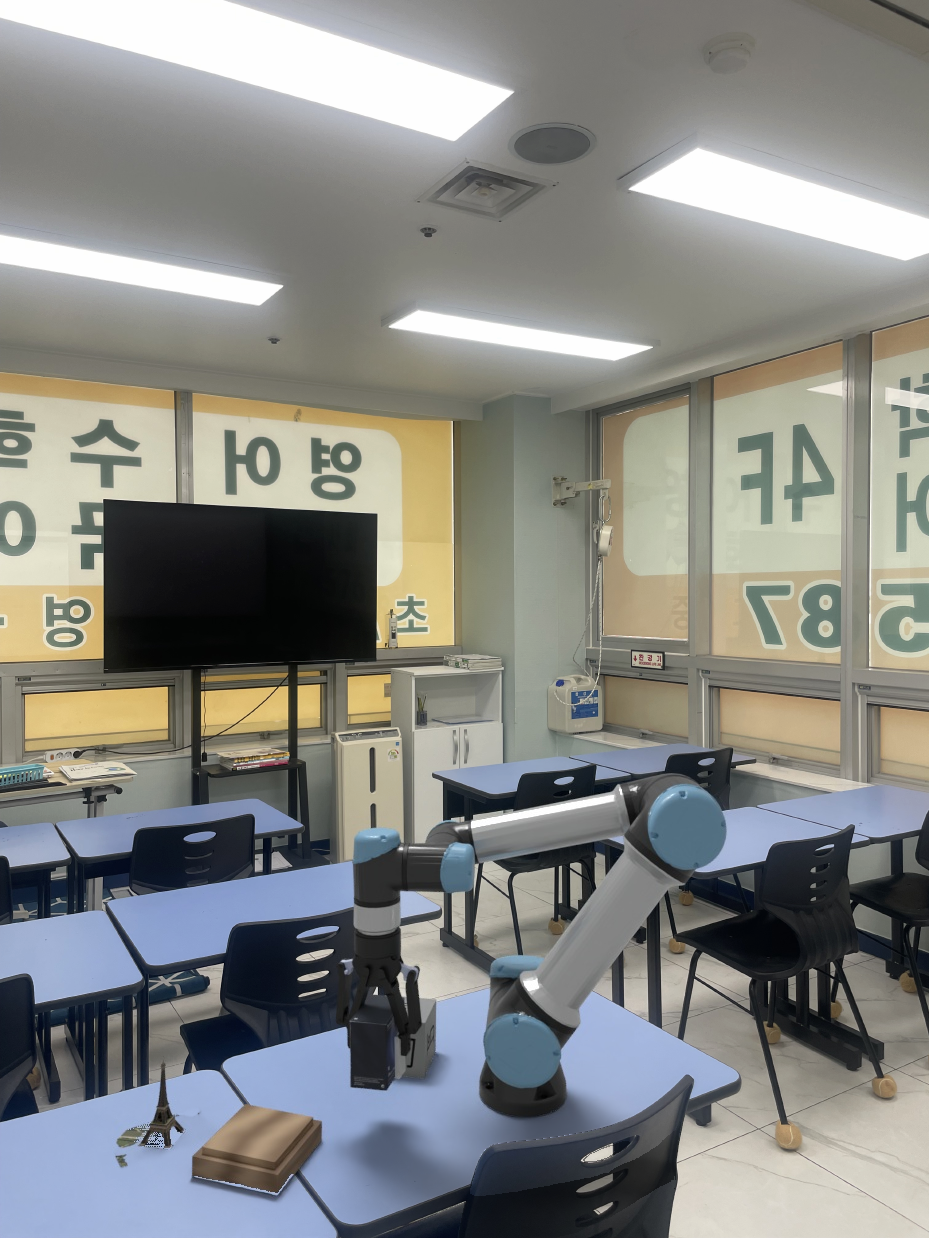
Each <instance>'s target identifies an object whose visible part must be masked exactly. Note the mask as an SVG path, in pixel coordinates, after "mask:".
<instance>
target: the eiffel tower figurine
mask: <svg viewBox="0 0 929 1238" xmlns="http://www.w3.org/2000/svg"><path fill="white" fill-rule="evenodd" d="M164 1060H165V1059H164V1056H162V1062H161V1063H160V1069H161V1071H160V1084H159V1092H158V1093H159V1094H158V1100H157V1105H156V1106H155V1108H156V1111H155V1113H154V1117H153V1119H152V1121H150V1122H151V1123H150V1124H149V1126H150V1128H145V1126H146V1124H145V1123H142V1124H143V1126H144V1124H145V1126H144V1128H143V1126H142V1124H140V1125H141V1126H142V1128H137V1126H138V1127H139V1125H136V1126H134V1127H131V1130H130V1128H128V1129H129V1130H128V1129H126V1130H124V1132H122V1133H121V1135H120V1136H119V1137H118V1138H117V1139H116V1145H117V1146H118V1147H119V1148H122V1149H124V1148H129V1147H131V1146H133V1145H135V1143H136V1144H137V1143H138V1142H136V1141H137V1140H138V1141H139V1139H138V1137H144V1138H143V1140H142V1141H139V1142H140V1143H139V1144H138V1145H137V1147H142V1146H144V1147H143V1148H150V1147H151V1146H150V1147H149V1146H148V1147H147V1146H146V1147H145V1145H159V1144H160V1143H159V1144H158V1143H157V1144H156V1143H155V1144H154V1143H150V1144H149V1143H148V1141H150V1140H148V1139H149V1137H152V1135H153V1133H154V1132H155V1133H156V1132H157V1133H158V1134H159V1133H161V1134H162V1137H163V1138H164V1144H165V1146H164V1148H170V1147H171V1145H172V1144H171V1139H170V1130H171V1128H173V1127H174V1128H175V1129H176V1130H177V1132H180V1133H183V1131H184V1129H185V1128H184V1127H183V1126H182V1125H181V1124H180V1123H179V1122H178V1121H177V1120H176V1116H175V1114H173V1112H172V1111H171V1108H170V1102H169V1101H168V1100H169V1099H168V1093H167V1083H166V1082H167V1079H166V1062H165V1061H164ZM141 1126H140V1127H141ZM147 1126H148V1124H147ZM147 1126H146V1127H147ZM149 1126H148V1127H149ZM133 1128H134V1129H133ZM140 1129H141V1130H140ZM142 1129H149V1130H142ZM145 1131H146V1132H145ZM142 1133H146V1135H145V1134H142ZM155 1133H154V1134H155ZM157 1133H156V1134H157ZM151 1134H152V1135H151ZM156 1134H155V1135H153V1137H154V1136H155V1137H156V1136H157V1137H161V1136H158V1134H157V1135H156ZM183 1134H184V1133H183ZM143 1135H145V1136H143ZM150 1135H151V1136H150ZM159 1135H160V1134H159ZM136 1137H137V1139H136ZM157 1137H156V1138H157ZM156 1138H155V1141H156V1140H157V1139H158V1138H157V1139H156ZM140 1139H141V1138H140ZM150 1139H151V1138H150ZM134 1141H135V1142H134ZM151 1141H152V1140H151ZM151 1141H150V1142H151ZM153 1141H154V1140H153ZM153 1141H152V1142H153ZM155 1141H154V1142H155ZM158 1141H159V1140H158ZM160 1141H161V1140H160ZM160 1141H159V1142H160ZM162 1141H163V1140H162ZM162 1141H161V1142H162ZM147 1143H148V1144H147ZM162 1144H163V1143H162ZM152 1147H153V1146H152ZM154 1147H156V1146H154ZM157 1147H158V1146H157ZM159 1147H160V1146H159ZM161 1147H162V1146H161ZM164 1148H163V1149H162V1150H165V1149H164ZM126 1156H127V1154H126V1153H125V1154H120V1155H115V1159H116V1160H117V1162H118V1163H119V1165H120V1166H119V1167H121V1168H124V1167H128V1166H129V1165H128V1163H127V1161H126V1158H125V1157H126Z"/></svg>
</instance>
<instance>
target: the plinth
mask: <svg viewBox="0 0 929 1238" xmlns="http://www.w3.org/2000/svg"><path fill="white" fill-rule="evenodd" d="M322 1133H323V1122H322V1120H318V1119H314V1116H309V1115H306V1114H304V1115H303V1114H299V1113H293V1112H288V1111H283V1110H278V1109H274V1108H273V1109H272V1108H267V1107H263V1106H257V1105H252V1104H248V1103H245V1104H244V1105H242V1106H241V1108H240V1109H239V1110H237V1111H236V1113H234V1114H233V1116H232V1117H230V1118H229V1120H227V1121H226V1122H225V1123H224V1124H223V1125H222V1126H221V1127H220V1128H219V1130H217V1132H215V1133H214V1134H213V1135H212V1136H211V1137H210V1138H209V1139H208V1140H207V1141H206V1142H205V1143H204V1144H203V1145H202V1146H201V1147H200V1148H199V1149H198V1150H197V1151H196V1152H195V1153H193V1154H192V1156H191V1157H192V1158H191V1177H192V1176H198V1177H202V1178H206V1179H212V1180H218V1181H225V1182H229V1183H235V1184H241V1185H244V1186H247V1187H251V1188H256V1189H257V1188H258V1189H260V1190H266V1191H268V1192H269V1191H270V1192H275V1193H278V1192H279V1190H280V1189H281V1188H282V1186H283V1185H284V1184H285V1182H286V1181H287V1179H288V1178H289V1176H290V1175H291V1174H294V1176H295V1174H297V1172H298V1171H299V1170H300V1168H301V1167H302V1166H303V1164H304V1163H305V1162H306V1161H307V1160H308V1158H309V1157H310V1156H311V1154H313V1152H314V1151H315V1149H316V1148H317V1147H318V1146H319V1144H320V1143H321V1142H322V1141H323V1140H322V1139H323V1135H322Z"/></svg>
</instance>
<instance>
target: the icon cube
mask: <svg viewBox="0 0 929 1238" xmlns="http://www.w3.org/2000/svg"><path fill="white" fill-rule="evenodd" d="M384 996H386V995H385V994H384ZM401 996H402V995H401ZM402 997H404V998H405V999H404V1001H405V1008H406V1011H407V1014H408V1009H407V999H406V996H402ZM419 999H420V1009H421V1019H422V1026H421V1028H420V1029H419V1030H418V1031H417V1033H416V1034H411V1050H410V1052H409V1054H408V1055H407V1056H406V1060H405V1063H406V1071H405V1072H404V1074H403V1075H402V1076H401V1078H402V1077H405V1078H414V1079H421V1080H424V1079H425V1078H426V1076H427V1074H428V1072H429V1069H428V1068H430V1067H431V1064H432V1062H431V1061H433V1059H434V1057H435V1055H436V1052H435V1051H437V1050H436V1049H437V1043H436V1041H437V1040H436V1039H437V999H434V998H427V997H426V998H425V997H419ZM434 1054H435V1055H434ZM433 1056H434V1057H433ZM432 1058H433V1059H432ZM429 1066H430V1067H429Z"/></svg>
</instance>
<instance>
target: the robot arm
mask: <svg viewBox="0 0 929 1238" xmlns="http://www.w3.org/2000/svg"><path fill="white" fill-rule="evenodd" d="M727 830H728V829H727V823H726V818H725V815H724V812H723V810H722V808H721V806H720V804H719V803H718V801H717V799H716V798H715V797H714V796H713V795H712V794H710V793H709V792H708V791H707V790H706V789H704V788H703V787H702V785H700V783H698V781H696V780H695V779H693V778H691V777H690V776H687V775H684V774H681V773H675V772H674V773H661V774H659V775H658V774H657V775H653V776H649V777H648V776H647V777H644V778H641V779H636V780H633V781H628V782H623V783H618V784H617V785H616V786H615V787H614V789H613V790H612V791H610V792H605V793H600V794H598V793H597V794H594V795H589V796H585V797H584V796H583V797H580V798H575V799H569V800H564V801H559V802H555V803H549V804H544V805H539V806H534V807H529V808H523V809H519V810H514V811H510V812H504V813H499V814H495V815H490V816H485V817H479V818H476V819H475V818H474V819H470V820H464V821H456V820H451V819H449V820H443V821H441V822H439V823H437V824H436V825H435V826H433V827H432V829H430V830H429V832H428V833H427V835H426V838H425V839H426V840H425V841H424V842H419V843H418V842H416V843H415V842H414V843H411V842H402V839H401V835H400V832H399V831H398V830H396V829H395V828H387V827H372V828H371V827H369V828H365V829H362V830H361V831H358V833H357V834H355V836H354V839H353V856H352V857H353V859H352V861H351V862H352V870H353V872H352V873H353V874H352V875H353V878H352V879H353V926H354V928H355V929H354V931H353V951H354V956H353V957H352V958H351V959H350V958H348V957H344V958H343V959H341V960H340V962H338V963H337V964H336V972H337V975H338V984H337V985H338V986H337V987H338V988H337V998H336V999H337V1000H336V1014H335V1023H336V1024H337V1025H342V1026H344V1027H345V1028H346V1031H347V1033H346V1034H347V1036H346V1037H347V1039H346V1040H347V1041H346V1042H347V1043H346V1044H347V1047H348V1049H350V1020H351V1019H352V1017H353V1016H354V1015H355V1014H356V1012H357V1011H358V1010H359V1009H360V1008H361V1007H362V1006H363V1005H364V1004H365V1001H366V1000H367V998H368V994H369V991H370V988H374V987H377V988H378V989H383V993H384V996H385V995H386V996H387V998H388V1001H389V1004H390V1007H391V1010H392V1013H393V1016H394V1019H395V1023H396V1026H397V1029H398V1033H397V1035H396V1036H395V1078H394V1079H396V1080H400V1079H401V1078H402V1077H401V1076H402V1075H403V1074H404V1072H405V1071H406V1063H405V1056H407V1055H408V1054H409V1052H410V1050H411V1034H416V1033H417V1031H418V1030H419V1029H420V1028H421V1026H422V1019H421V1009H420V999H419V998H420V992H419V976H420V971H421V968H420V966H419V965H414V966H413V967H412V966H410V965H408V964H405V963H404V960H403V957H402V930H401V927H400V925H401V920H402V919H401V913H402V912H401V908H402V907H401V892H417V893H418V892H422V893H426V892H427V893H448V894H454V893H465V892H466V893H467V892H470V891H472V889H473V888H474V886H475V877H476V873H475V872H476V871H475V870H476V866H475V865H479V864H483V863H488V862H494V861H498V860H499V861H500V860H503V859H509V858H510V859H511V858H514V857H520V856H524V855H531V854H535V853H540V852H547V851H550V850H556V849H561V848H567V847H572V846H576V845H583V844H588V843H593V842H599V841H604V840H608V839H613V838H618V837H622V841H623V846H624V849H623V852H622V854H621V855H620V856H619V858H618V859H617V860H616V862H615V863H614V864H613V866H612V867H611V868H610V870H609V871H608V872H607V874H606V875H605V876H604V878H603V879H602V881H600V883H599V885H598V886H597V887H596V889H595V890H594V891H593V892H592V894H591V895H590V897H589V898H588V900H586V902H585V904H584V905H583V906H582V908H581V909H580V910H579V911H578V913H577V914H576V916H575V917H574V918H573V919H572V921H571V922H570V923H569V925H568V927H567V928H566V930H565V931H564V932H563V933H562V935H560V937H559V939H558V940H557V941H556V943H555V944H554V945H553V946H552V948H551V949H550V951H549V952H548V953H547V954H546V956H545V957H540V956H535V955H527V954H526V955H523V954H522V955H520V954H515V955H506V956H502V957H498V958H496V959H495V960H493V961H492V962H491V965H490V970H489V971H490V972H489V974H488V977H489V979H490V980H489V1001H488V1009H487V1015H486V1016H487V1018H486V1024H485V1031H484V1033H483V1040H482V1042H483V1049H484V1056H485V1057H484V1058H485V1060H484V1063H483V1066H482V1069H481V1072H480V1075H479V1079H478V1080H479V1081H478V1082H479V1083H478V1086H479V1087H478V1095H479V1098H480V1099H481V1101H482V1102H483V1104H485V1105H486V1106H487V1107H489V1109H491V1110H493V1111H495V1112H497V1113H500V1114H503V1115H505V1116H511V1117H518V1118H536V1117H543V1116H546V1115H549V1114H552V1113H554V1112H556V1111H557V1109H558V1110H559V1109H561V1107H562V1106H564V1104H565V1102H566V1100H567V1079H566V1077H565V1073H564V1069H563V1067H562V1063H561V1059H562V1049H563V1048H564V1046H565V1045H566V1043H568V1042H569V1040H570V1038H572V1036H573V1034H574V1033H575V1032H576V1031H577V1029H578V1028H579V1026H580V1025H581V1023H582V1022H581V1013H580V1008H581V1007H582V1005H583V1004H584V1002H585V1001H586V1000H587V998H588V997H589V996H590V995H591V993H592V992H593V990H594V989H595V988H596V986H597V985H598V984H599V983H600V981H601V979H603V977H604V976H605V974H606V973H607V972H608V970H609V969H610V968H611V966H612V965H613V964H614V962H615V961H616V960H617V958H618V957H619V955H620V954H621V953H622V951H623V950H624V949H625V948H626V946H627V945H628V943H629V942H631V940H632V938H633V937H634V935H635V934H636V933H637V931H639V929H640V927H641V926H642V924H644V923H645V921H646V920H647V918H648V917H649V915H650V914H651V913H652V912H653V910H654V909H655V907H656V906H657V905H658V903H659V902H660V901H661V900H662V898H663V897H664V896H665V894H666V893H667V891H668V890H669V889H670V888H671V887H678V886H685V885H686V883H687V882H688V881H689V880H690V878H691V877H692V876H693V874H694V873H695V871H696V870H698V869H701V868H704V867H705V866H708V865H710V864H711V863H713V861H714V860H715V859H717V858H718V856H720V854H721V852H722V850H723V848H724V846H725V842H726V839H727V834H728V833H727ZM354 970H355V972H356V974H357V975H358V977H359V981H358V984H357V987H356V993H355V996H354V999H353V1002H352V1006H351V1008H350V1002H351V989H352V980H353V978H352V977H353V976H352V975H353V971H354ZM400 973H401V974H402V975H403V981H404V982H405V997H406V999H407V1009H408V1014H407V1011H406V1008H405V1005H404V1002H403V999H402V992H401V990H400V982H399V980H398V979H399V978H398V976H399V975H400ZM555 1110H556V1111H555Z"/></svg>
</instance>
